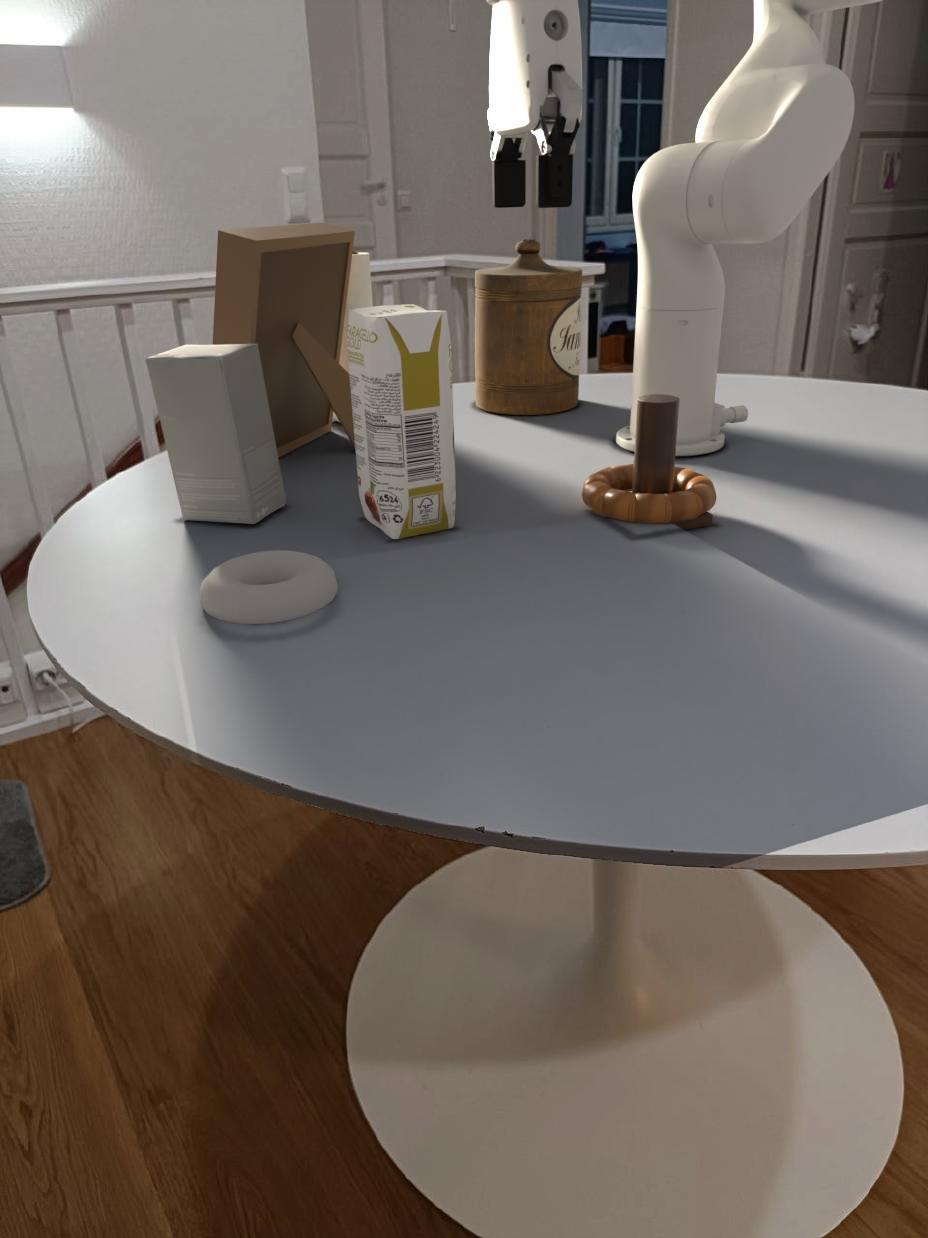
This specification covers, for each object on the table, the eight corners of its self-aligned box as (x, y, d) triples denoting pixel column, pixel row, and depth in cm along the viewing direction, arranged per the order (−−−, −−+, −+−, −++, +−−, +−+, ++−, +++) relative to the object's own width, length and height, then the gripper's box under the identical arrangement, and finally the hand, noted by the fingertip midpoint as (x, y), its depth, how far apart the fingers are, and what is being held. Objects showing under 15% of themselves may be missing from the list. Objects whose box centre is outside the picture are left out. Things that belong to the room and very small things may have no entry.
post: (664, 499, 86) (672, 386, 81) (712, 524, 79) (724, 402, 75) (591, 511, 84) (595, 394, 79) (634, 538, 77) (642, 412, 72)
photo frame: (208, 474, 99) (169, 230, 88) (302, 428, 117) (280, 223, 106) (325, 483, 94) (301, 228, 83) (405, 435, 112) (393, 220, 102)
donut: (342, 581, 70) (215, 586, 70) (339, 541, 69) (209, 545, 68) (336, 638, 61) (190, 644, 61) (332, 592, 60) (183, 598, 59)
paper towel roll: (389, 417, 121) (378, 250, 112) (362, 427, 117) (348, 253, 108) (348, 412, 125) (335, 250, 116) (320, 421, 120) (304, 253, 111)
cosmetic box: (287, 506, 87) (268, 341, 81) (249, 530, 81) (224, 354, 75) (215, 499, 90) (189, 339, 83) (172, 522, 84) (141, 351, 77)
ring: (667, 480, 89) (669, 455, 87) (741, 515, 78) (744, 487, 77) (560, 496, 85) (560, 470, 84) (622, 535, 75) (624, 506, 74)
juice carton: (389, 545, 77) (374, 317, 69) (354, 517, 84) (336, 307, 76) (465, 529, 80) (460, 310, 72) (425, 504, 87) (416, 301, 79)
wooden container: (584, 414, 120) (589, 239, 110) (475, 417, 120) (471, 242, 111) (573, 392, 133) (577, 234, 124) (475, 394, 134) (472, 237, 124)
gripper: (624, -44, 66) (613, 205, 74) (529, 1, 81) (528, 205, 89) (534, -50, 64) (532, 208, 72) (453, -2, 79) (459, 208, 86)
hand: (530, 207), depth 80 cm, fingers open, 9 cm apart
